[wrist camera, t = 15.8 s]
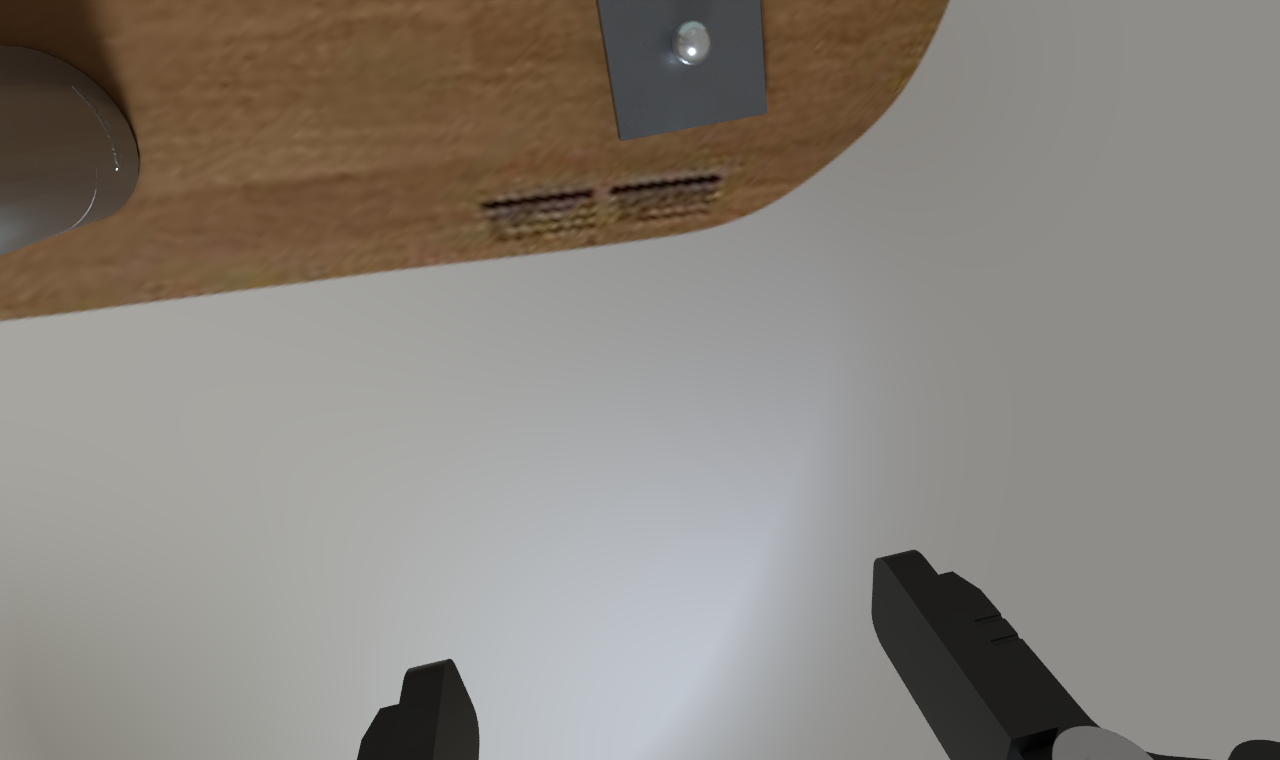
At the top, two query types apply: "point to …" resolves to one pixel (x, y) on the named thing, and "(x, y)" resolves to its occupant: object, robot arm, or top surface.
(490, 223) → the top surface
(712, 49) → the stud plate
